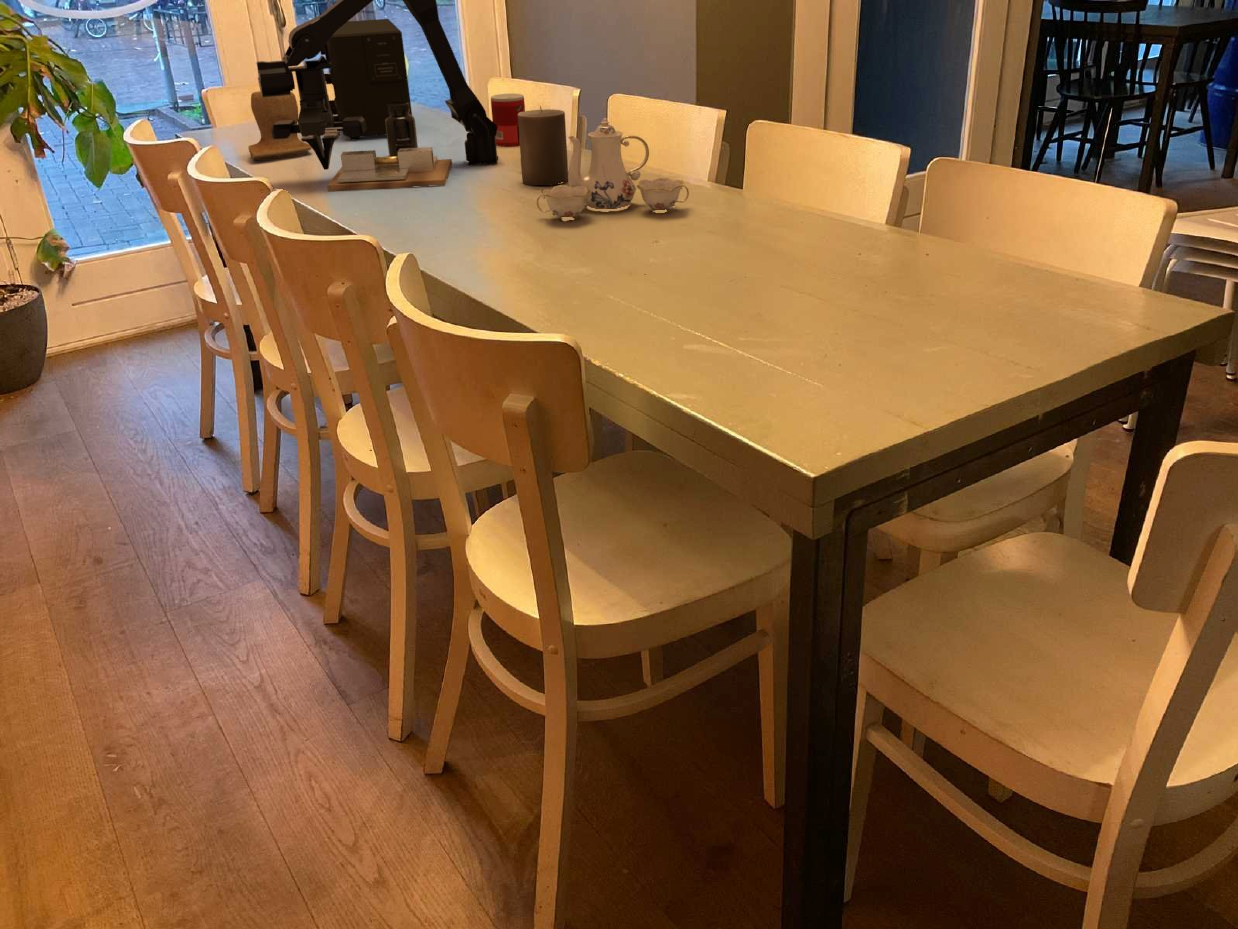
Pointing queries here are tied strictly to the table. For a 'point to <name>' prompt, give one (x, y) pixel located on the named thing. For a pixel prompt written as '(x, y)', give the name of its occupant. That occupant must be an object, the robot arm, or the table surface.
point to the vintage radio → (366, 72)
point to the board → (411, 180)
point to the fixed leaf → (414, 160)
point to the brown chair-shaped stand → (266, 117)
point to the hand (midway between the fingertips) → (326, 169)
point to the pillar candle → (543, 147)
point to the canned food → (507, 117)
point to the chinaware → (608, 179)
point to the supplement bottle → (400, 128)
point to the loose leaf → (368, 167)
